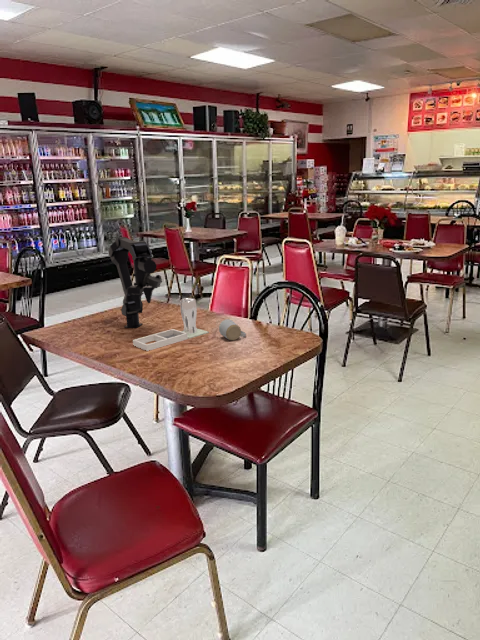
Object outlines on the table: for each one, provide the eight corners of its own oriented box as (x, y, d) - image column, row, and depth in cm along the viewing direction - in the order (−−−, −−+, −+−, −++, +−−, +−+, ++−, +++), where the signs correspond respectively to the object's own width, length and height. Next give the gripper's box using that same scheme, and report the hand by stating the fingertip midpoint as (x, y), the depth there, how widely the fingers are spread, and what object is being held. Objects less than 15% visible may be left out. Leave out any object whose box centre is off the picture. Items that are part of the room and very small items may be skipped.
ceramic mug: (226, 342, 200) (226, 324, 198) (218, 337, 207) (218, 320, 205) (249, 338, 204) (249, 321, 202) (241, 333, 211) (240, 316, 209)
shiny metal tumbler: (194, 329, 219) (191, 297, 215) (200, 333, 213) (198, 300, 209) (180, 332, 215) (177, 299, 211) (186, 336, 209) (183, 302, 205)
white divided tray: (147, 351, 193) (146, 345, 193) (133, 345, 201) (132, 340, 200) (208, 332, 214) (208, 327, 214) (194, 328, 222) (193, 323, 221)
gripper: (148, 274, 199) (151, 311, 203) (166, 267, 216) (169, 300, 220) (124, 274, 202) (128, 310, 206) (144, 267, 219) (147, 300, 223)
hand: (144, 305), depth 214 cm, fingers open, 9 cm apart
